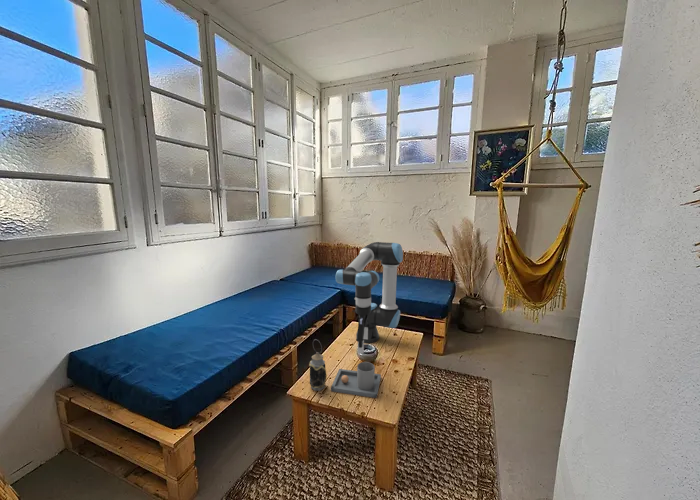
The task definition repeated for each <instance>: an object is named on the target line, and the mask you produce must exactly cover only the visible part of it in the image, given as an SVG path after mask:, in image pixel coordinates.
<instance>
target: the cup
mask: <svg viewBox="0 0 700 500" xmlns="http://www.w3.org/2000/svg"><path fill="white" fill-rule="evenodd" d="M356 369H357V370H356V371H357V386H358V388H359V389H360V390H363V391H369V390H372V389H373V388H374V374H376V373H375V372H376V371H375V369H376V367H375V365H374V364H373V363H371V362H368V361H362V362H360V363H358V364H357V367H356Z"/></svg>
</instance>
